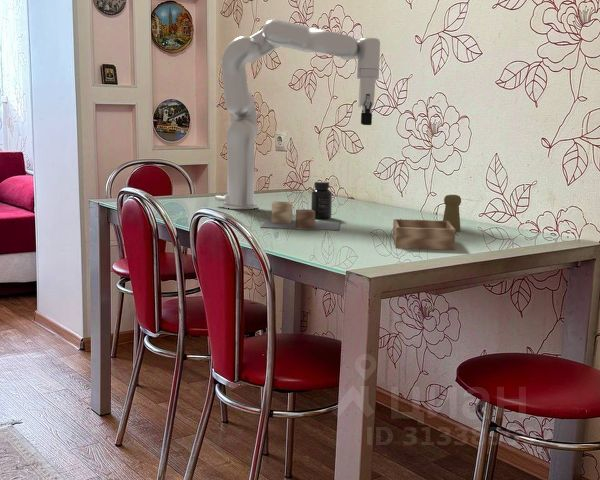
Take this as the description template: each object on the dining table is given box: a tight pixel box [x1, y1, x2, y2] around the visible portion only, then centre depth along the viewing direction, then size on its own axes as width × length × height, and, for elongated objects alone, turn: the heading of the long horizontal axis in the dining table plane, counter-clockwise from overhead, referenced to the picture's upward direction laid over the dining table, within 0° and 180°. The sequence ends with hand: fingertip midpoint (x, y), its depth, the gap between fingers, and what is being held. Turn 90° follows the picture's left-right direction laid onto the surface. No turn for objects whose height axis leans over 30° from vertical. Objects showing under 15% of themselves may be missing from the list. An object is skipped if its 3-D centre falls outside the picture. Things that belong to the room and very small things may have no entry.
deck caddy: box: [392, 218, 456, 251], centre depth 216 cm, size 16×16×6 cm
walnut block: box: [295, 209, 316, 228], centre depth 238 cm, size 5×5×5 cm
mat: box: [259, 218, 341, 231], centre depth 244 cm, size 24×16×1 cm, turn 86°
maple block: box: [271, 200, 293, 223], centre depth 248 cm, size 6×6×6 cm
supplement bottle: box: [310, 181, 333, 220], centre depth 259 cm, size 7×7×12 cm
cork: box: [442, 194, 462, 233], centre depth 240 cm, size 6×6×11 cm
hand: (366, 124), depth 272 cm, fingers open, 9 cm apart
